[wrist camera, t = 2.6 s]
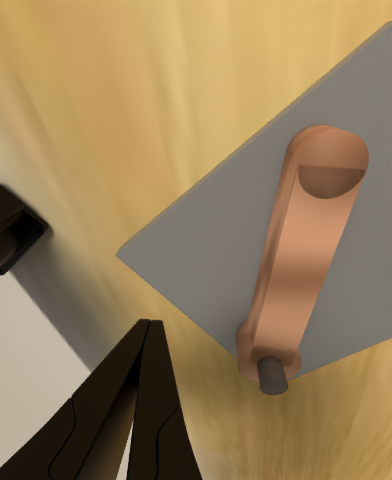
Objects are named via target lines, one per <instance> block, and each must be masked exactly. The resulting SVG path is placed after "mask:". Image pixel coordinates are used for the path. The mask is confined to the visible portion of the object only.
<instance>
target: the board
mask: <svg viewBox="0 0 392 480" xmlns="http://www.w3.org/2000/svg"><path fill="white" fill-rule="evenodd" d="M315 124H326V125H330V126H333V127H336V128H339V129H342V130H345V131H348V132H351V133H354V134H356V135H358V136H359V137H360V138H361V139H362V140H363V141H364V142H365V144H366V145H367V148H368V151H369V163H368V167H367V170H366V173H365V175H364V178H363V181H362V183H361V186H360V188H359V191H358V194H357V196H356V199H355V201H354V204H353V207H352V209H351V212H350V214H349V217H348V220H347V222H346V225H345V227H344V230H343V233H342V235H341V238H340V240H339V243H338V245H337V248H336V251H335V253H334V256H333V258H332V261H331V264H330V266H329V269H328V271H327V274H326V277H325V279H324V282H323V284H322V287H321V290H320V292H319V295H318V297H317V300H316V303H315V305H314V308H313V310H312V313H311V316H310V318H309V321H308V323H307V326H306V329H305V331H304V334H303V336H302V339H301V341H300V344H299V347H298V351H299V354H300V357H301V361H302V364H301V368H300V370H299V371H298V373H297V374H296V375H294V376H293V377H291V378H290V379H288V380H291V379H293V378H296V377H298V376H300V375H303V374H305V373H308V372H310V371H313V370H315V369H317V368H320V367H322V366H325V365H327V364H329V363H332V362H334V361H337V360H339V359H342V358H344V357H346V356H349V355H351V354H354V353H356V352H358V351H361V350H363V349H366V348H368V347H371V346H373V345H375V344H378V343H380V342H383V341H385V340H388V339H390V338H392V21H390V22H387V23H386V24H385V25H384V26H382V27H381V28H380V29H379V30H378V31H376V32H375V33H374V34H373V35H372V36H370V37H369V38H368V39H367V40H366V41H365V42H363V43H362V44H361V45H360V46H359V47H357V48H356V49H355V50H354V51H353V52H351V53H350V54H349V55H348V56H347V57H346V58H344V59H343V60H342V61H341V62H340V63H338V64H337V65H336V66H335V67H334V68H333V69H331V70H330V71H329V72H328V73H327V74H325V75H324V76H323V77H322V78H321V79H319V80H318V81H317V82H316V83H315V84H314V85H312V86H311V87H310V88H309V89H308V90H306V91H305V92H304V93H303V94H302V95H300V96H299V97H298V98H297V99H296V100H295V101H293V102H292V103H291V104H290V105H289V106H287V107H286V108H285V109H284V110H283V111H282V112H280V113H279V114H278V115H277V116H276V117H274V118H273V119H272V120H271V121H270V122H268V123H267V124H266V125H265V126H264V127H263V128H261V129H260V130H259V131H258V132H257V133H255V134H254V135H253V136H252V137H251V138H249V139H248V140H247V141H246V142H245V143H244V144H242V145H241V146H240V147H239V148H238V149H236V150H235V151H234V152H233V153H232V154H230V155H229V156H228V157H227V158H226V159H225V160H223V161H222V162H221V163H220V164H219V165H217V166H216V167H215V168H214V169H213V170H212V171H210V172H209V173H208V174H207V175H206V176H204V177H203V178H202V179H201V180H200V181H198V182H197V183H196V184H195V185H194V186H193V187H191V188H190V189H189V190H188V191H187V192H185V193H184V194H183V195H182V196H181V197H179V198H178V199H177V200H176V201H175V202H174V203H172V204H171V205H170V206H169V207H168V208H166V209H165V210H164V211H163V212H162V213H161V214H159V215H158V216H157V217H156V218H155V219H153V220H152V221H151V222H150V223H149V224H147V225H146V226H145V227H144V228H143V229H142V230H140V231H139V232H138V233H137V234H136V235H134V236H133V237H132V238H131V239H130V240H128V241H127V242H126V243H125V244H124V245H123V246H121V247H120V248H119V250H118V252H117V254H116V256H117V257H118V258H119V259H120V260H121V261H123V262H124V263H125V264H126V265H127V266H129V267H130V268H131V269H132V270H133V271H134V272H136V273H137V274H138V275H139V276H140V277H142V278H143V279H144V280H145V281H146V282H147V283H149V284H150V285H151V286H152V287H153V288H154V289H156V290H157V291H158V292H159V293H160V294H162V295H163V296H164V297H165V298H166V299H167V300H169V301H170V302H171V303H172V304H173V305H175V306H176V307H177V308H178V309H179V310H180V311H182V312H183V313H184V314H185V315H186V316H188V317H189V318H190V319H191V320H192V321H193V322H195V323H196V324H197V325H198V326H199V327H201V328H202V329H203V330H204V331H205V332H206V333H208V334H209V335H210V336H211V337H212V338H214V339H215V340H216V341H217V342H218V343H219V344H221V345H222V346H223V347H224V348H225V349H227V350H228V351H229V352H230V353H231V354H232V355H234V356H235V357H236V358H237V347H236V337H235V336H236V331H237V330H238V328H239V327H240V326H241V325H242V324H243V323H244V322H246V321H247V320H248V317H249V313H250V308H251V304H252V300H253V295H254V291H255V286H256V282H257V277H258V273H259V268H260V264H261V260H262V255H263V251H264V246H265V242H266V237H267V233H268V228H269V224H270V219H271V215H272V211H273V206H274V202H275V197H276V193H277V188H278V184H279V179H280V175H281V170H282V166H283V162H284V157H285V153H286V149H287V147H288V145H289V143H290V141H291V140H292V138H293V137H294V136H295V135H296V134H297V133H298V132H299V131H301V130H302V129H304V128H306V127H308V126H311V125H315ZM237 359H238V358H237ZM288 380H287V381H288Z"/></svg>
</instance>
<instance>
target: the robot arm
mask: <svg viewBox="0 0 392 480" xmlns="http://www.w3.org/2000/svg"><path fill="white" fill-rule="evenodd" d="M37 225H38V226H40V227H41V229H40V228H38V226H37ZM47 230H48V225H47V223H46V222H45V221H44V220H42V219H41V218H40V217H39V216H37V215H36V214H35V213H34V212H32V211H31V210H30V209H29V208H27V207H26V206H25V205H24V204H22V203H21V202H20V201H19V200H18V199H16V198H15V197H14V196H13V195H11V194H10V193H9V192H8V191H6V190H5V189H4V188H3V187H1V186H0V275H4V274H5V273H6V272H8V271H9V270H10V269H11V268H12V266H13V265H14V264H15V263H16V262H17V261H18V260H19V259H20V258H21V257H22V256H23V255H24V254H25V253H26V252H27V251H28V250H29V249H30V248H31V247H32V246H33V245H34V244H35V243H36V242H37V240H38V239H39V238H40V237H41V236H42V235H43V234H44V233H45V232H46V231H47ZM133 419H134V421H133ZM132 423H133V429H132V437H131V446H130V453H129V462H128V470H127V478H126V480H203V479H202V476H201V473H200V471H199V468H198V465H197V462H196V459H195V456H194V453H193V450H192V447H191V444H190V441H189V437H188V434H187V430H186V426H185V422H184V417H183V413H182V408H181V404H180V399H179V395H178V390H177V385H176V381H175V376H174V371H173V367H172V362H171V358H170V353H169V348H168V344H167V339H166V334H165V330H164V325H163V321H162V320H152V321H151V320H150V319H139V320H138V321H137V323H136V324H135V325H134V326H133V327H132V328H131V329H130V330H129V332H128V333H127V334H126V335H125V336H124V337H123V338H122V339H121V341H120V342H119V343H118V344H117V345H116V346H115V347H114V348H113V350H112V351H111V352H110V353H109V354H108V355H107V356H106V357H105V359H104V360H103V361H102V362H101V363H100V364H99V365H98V366H97V368H96V369H95V370H94V371H93V372H92V373H91V374H90V375H89V377H88V378H87V379H86V380H85V381H84V382H83V383H82V384H81V386H80V387H79V388H78V389H77V390H76V391H75V392H74V393H73V395H72V397H71V398H69V399H68V400H67V401H66V402H65V403H64V405H63V406H62V407H61V408H60V409H59V410H58V411H57V412H56V413H55V414H54V416H53V417H52V418H51V419H50V420H49V421H48V422H47V423H46V424H45V425H44V426H43V427H42V428H41V429H40V430H39V431H38V432H37V433H36V434H35V435H34V436H33V437H32V438H31V439H30V440H29V441H28V442H27V443H26V444H25V445H24V446H23V447H21V448H20V449H19V450H18V451H17V452H16V453H15V454H14V455H13V456H12V457H11V458H10V459H9V460H8V461H7V462H6V463H5V464H4V465H3V466H2V467H1V468H0V480H116V478H117V474H118V471H119V467H120V464H121V460H122V457H123V454H124V450H125V447H126V443H127V440H128V436H129V433H130V429H131V426H132Z"/></svg>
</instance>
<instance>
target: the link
mask: <svg viewBox="0 0 392 480" xmlns="http://www.w3.org/2000/svg"><path fill="white" fill-rule="evenodd" d="M368 163H369V151H368V148H367V145H366V144H365V142H364V141H363V140H362V139H361V138H360V137H359V136H358V135H356V134H354V133H351V132H348V131H345V130H342V129H339V128H336V127H333V126H330V125H326V124H315V125H311V126H308V127H306V128H304V129H302V130H301V131H299V132H298V133H297V134H296V135H295V136H294V137H293V138H292V140H291V141H290V143H289V145H288V147H287V149H286V153H285V157H284V162H283V166H282V170H281V175H280V179H279V184H278V188H277V193H276V197H275V202H274V206H273V211H272V215H271V219H270V224H269V228H268V233H267V237H266V242H265V246H264V251H263V255H262V260H261V264H260V268H259V273H258V277H257V282H256V286H255V291H254V295H253V300H252V304H251V308H250V313H249V317H248V320H247V321H246V322H244V323H243V324H242V325H241V326H240V327H239V328H238V330H237V331H236V336H235V337H236V347H237V358H238V368H239V371H240V372H241V374H242V375H243V376H244V377H246V378H247V379H249V380H251V381H254V382H258V383H259V384H260V389H261V391H262V392H263V393H265V394H269V395H278V394H282V393H284V392H285V391H286V390H287V389H288V383H287V380H288V379H290V378H291V377H293V376H294V375H296V374H297V373H298V371H299V370H300V368H301V364H302V361H301V357H300V354H299V351H298V347H299V344H300V341H301V339H302V336H303V334H304V331H305V329H306V326H307V323H308V321H309V318H310V316H311V313H312V310H313V308H314V305H315V303H316V300H317V297H318V295H319V292H320V290H321V287H322V284H323V282H324V279H325V277H326V274H327V271H328V269H329V266H330V264H331V261H332V258H333V256H334V253H335V251H336V248H337V245H338V243H339V240H340V238H341V235H342V233H343V230H344V227H345V225H346V222H347V220H348V217H349V214H350V212H351V209H352V207H353V204H354V201H355V199H356V196H357V194H358V191H359V188H360V186H361V183H362V181H363V178H364V175H365V173H366V170H367V167H368Z"/></svg>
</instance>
